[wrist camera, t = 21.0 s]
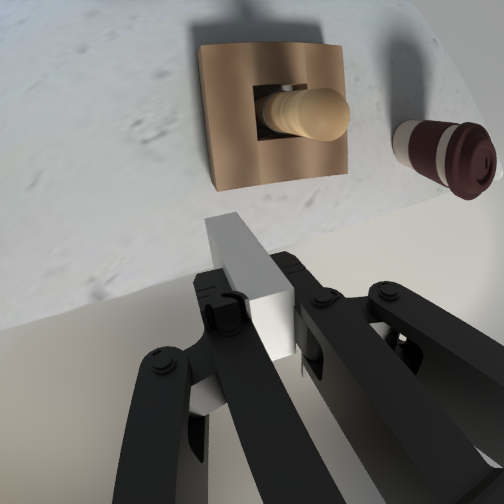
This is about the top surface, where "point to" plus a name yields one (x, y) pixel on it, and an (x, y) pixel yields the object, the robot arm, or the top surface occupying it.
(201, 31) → the top surface
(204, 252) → the top surface
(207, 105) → the walnut socket block
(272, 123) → the oak peg
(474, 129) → the coffee cup
